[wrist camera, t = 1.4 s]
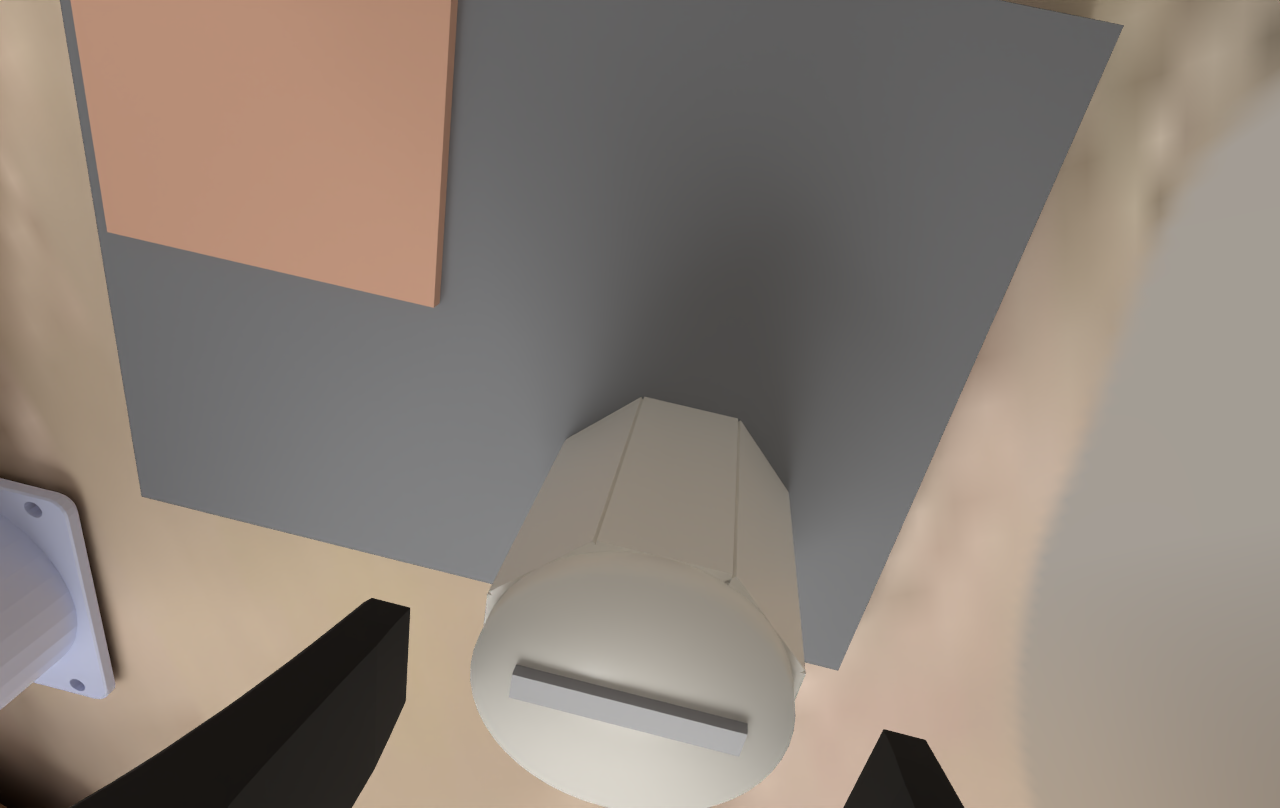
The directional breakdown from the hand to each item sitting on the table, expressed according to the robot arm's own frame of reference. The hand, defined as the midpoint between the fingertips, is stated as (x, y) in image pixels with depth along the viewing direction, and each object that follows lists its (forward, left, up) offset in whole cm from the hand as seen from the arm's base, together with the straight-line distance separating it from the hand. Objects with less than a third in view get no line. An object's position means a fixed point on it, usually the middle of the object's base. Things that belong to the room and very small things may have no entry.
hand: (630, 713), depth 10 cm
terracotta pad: (-9, +7, -6) cm, 13 cm away
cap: (0, 0, -6) cm, 6 cm away
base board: (-4, +3, -7) cm, 9 cm away
